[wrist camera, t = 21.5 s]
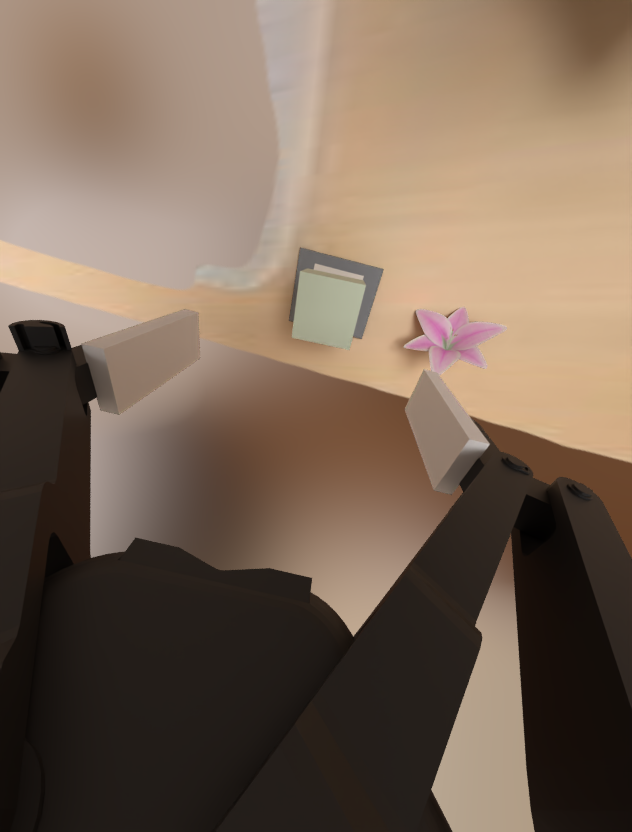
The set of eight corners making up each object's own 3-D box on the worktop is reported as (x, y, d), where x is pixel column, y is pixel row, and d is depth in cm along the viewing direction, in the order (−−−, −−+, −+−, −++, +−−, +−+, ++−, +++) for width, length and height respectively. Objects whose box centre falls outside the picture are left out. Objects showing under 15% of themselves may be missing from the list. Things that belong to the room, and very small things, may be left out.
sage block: (307, 268, 32) (300, 271, 27) (363, 280, 32) (366, 285, 27) (299, 325, 36) (291, 337, 31) (349, 336, 36) (349, 350, 31)
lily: (496, 325, 40) (528, 302, 31) (462, 396, 42) (482, 394, 33) (420, 302, 43) (429, 275, 34) (391, 369, 45) (391, 361, 35)
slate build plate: (300, 247, 36) (300, 247, 36) (383, 269, 37) (383, 269, 36) (289, 319, 42) (288, 320, 41) (361, 337, 42) (361, 339, 42)
